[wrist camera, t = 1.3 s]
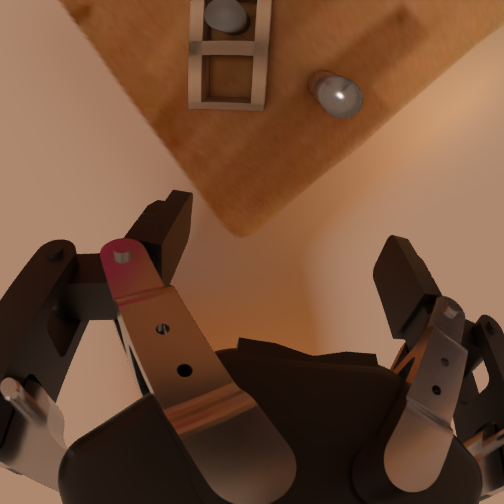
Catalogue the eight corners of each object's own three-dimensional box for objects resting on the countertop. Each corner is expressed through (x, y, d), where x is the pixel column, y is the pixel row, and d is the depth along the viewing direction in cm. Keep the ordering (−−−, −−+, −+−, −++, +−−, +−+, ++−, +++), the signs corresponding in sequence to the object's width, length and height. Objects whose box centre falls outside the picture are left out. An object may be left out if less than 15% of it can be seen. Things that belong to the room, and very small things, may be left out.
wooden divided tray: (200, -3, 20) (181, -16, 15) (272, -3, 20) (271, -18, 15) (197, 102, 28) (178, 115, 23) (265, 105, 28) (261, 118, 23)
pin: (308, 68, 25) (323, 74, 17) (338, 72, 25) (365, 82, 17) (305, 95, 27) (318, 114, 19) (335, 100, 27) (359, 121, 19)
